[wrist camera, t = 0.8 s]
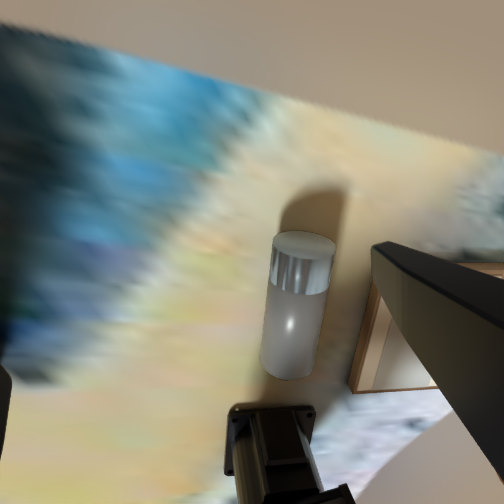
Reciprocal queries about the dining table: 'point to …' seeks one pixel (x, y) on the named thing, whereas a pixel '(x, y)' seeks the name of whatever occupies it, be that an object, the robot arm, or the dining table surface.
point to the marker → (295, 303)
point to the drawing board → (392, 348)
